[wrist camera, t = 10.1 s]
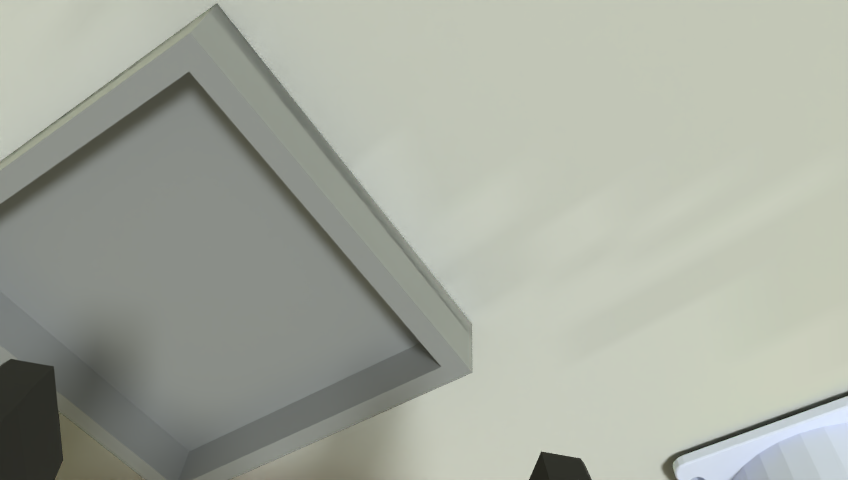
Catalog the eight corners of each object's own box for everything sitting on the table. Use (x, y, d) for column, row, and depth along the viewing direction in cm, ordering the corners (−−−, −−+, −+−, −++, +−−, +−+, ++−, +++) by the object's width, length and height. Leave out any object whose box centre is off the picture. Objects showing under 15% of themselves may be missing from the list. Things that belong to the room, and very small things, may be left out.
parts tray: (471, 324, 22) (472, 372, 20) (194, 454, 26) (175, 503, 24) (216, 3, 17) (190, 32, 15) (-81, 221, 21) (-129, 263, 19)
